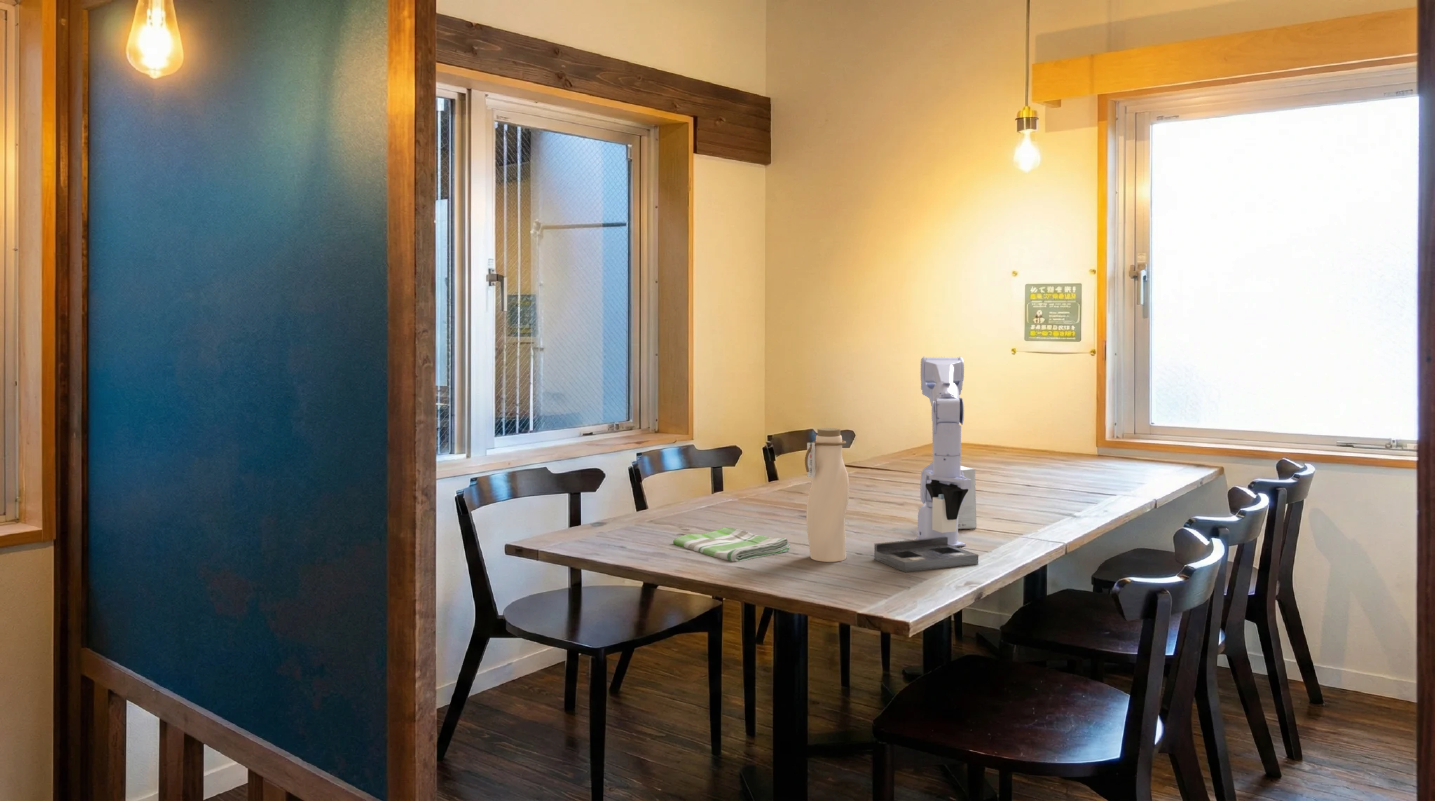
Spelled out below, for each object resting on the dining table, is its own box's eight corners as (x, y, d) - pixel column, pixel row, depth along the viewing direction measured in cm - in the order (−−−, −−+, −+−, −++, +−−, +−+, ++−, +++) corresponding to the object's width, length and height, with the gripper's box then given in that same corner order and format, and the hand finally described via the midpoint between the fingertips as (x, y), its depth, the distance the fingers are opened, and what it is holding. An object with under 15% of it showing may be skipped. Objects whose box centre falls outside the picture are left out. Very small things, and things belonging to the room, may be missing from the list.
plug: (932, 529, 214) (932, 493, 214) (946, 528, 216) (946, 492, 215) (942, 532, 211) (942, 496, 210) (956, 531, 212) (956, 495, 212)
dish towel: (733, 565, 212) (733, 548, 212) (670, 546, 230) (670, 531, 230) (793, 553, 223) (793, 538, 222) (728, 536, 241) (728, 522, 241)
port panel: (874, 559, 214) (874, 543, 214) (944, 552, 221) (945, 536, 221) (905, 572, 203) (905, 555, 203) (978, 564, 210) (978, 547, 210)
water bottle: (822, 565, 209) (823, 432, 207) (794, 557, 216) (794, 429, 214) (858, 558, 215) (858, 429, 213) (829, 551, 222) (830, 426, 220)
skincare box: (976, 528, 246) (977, 469, 245) (954, 529, 245) (954, 469, 244) (962, 522, 254) (963, 464, 253) (940, 523, 253) (940, 465, 252)
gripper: (912, 451, 217) (911, 513, 218) (951, 459, 204) (950, 525, 205) (939, 450, 220) (938, 510, 221) (980, 457, 207) (978, 522, 208)
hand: (946, 517), depth 213 cm, fingers closed on plug, 4 cm apart
